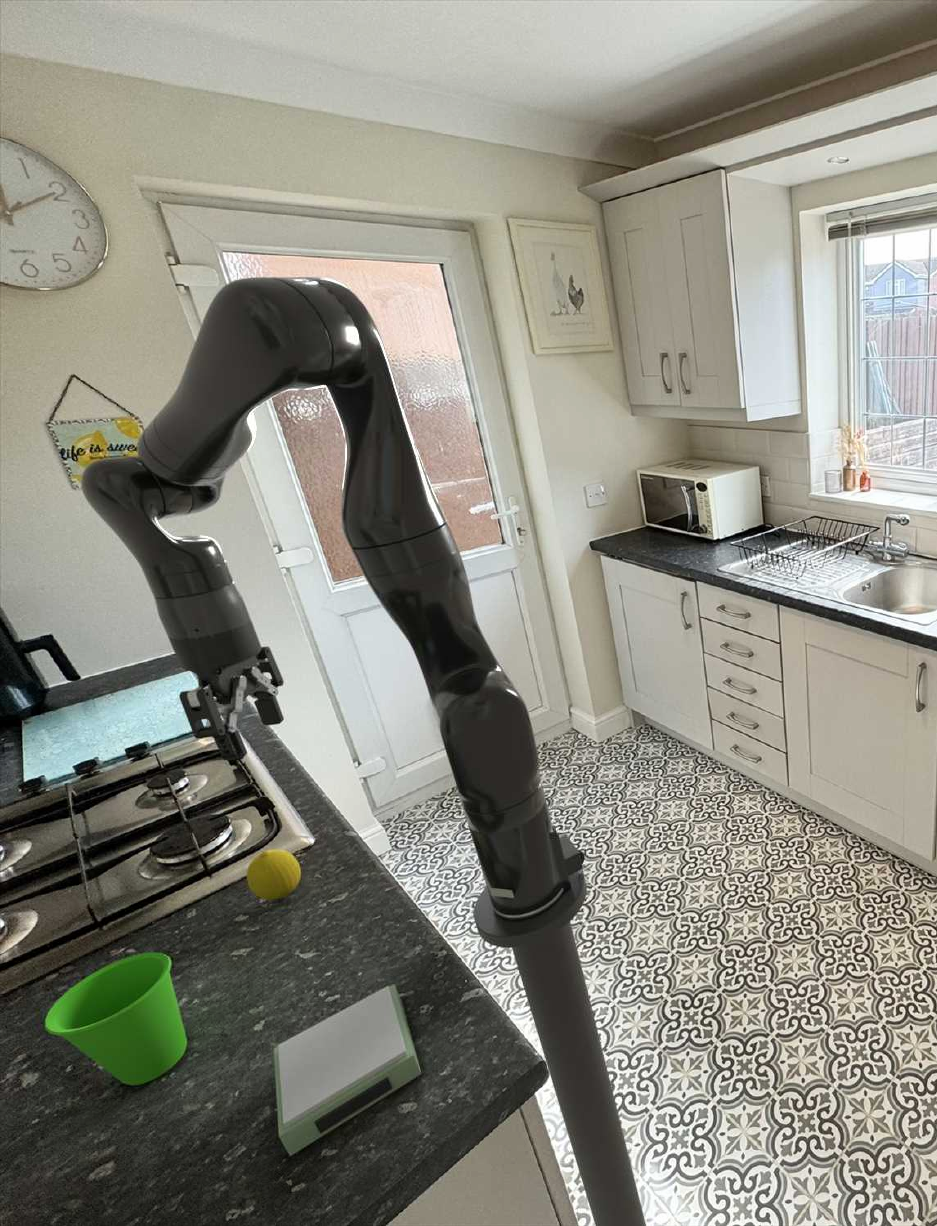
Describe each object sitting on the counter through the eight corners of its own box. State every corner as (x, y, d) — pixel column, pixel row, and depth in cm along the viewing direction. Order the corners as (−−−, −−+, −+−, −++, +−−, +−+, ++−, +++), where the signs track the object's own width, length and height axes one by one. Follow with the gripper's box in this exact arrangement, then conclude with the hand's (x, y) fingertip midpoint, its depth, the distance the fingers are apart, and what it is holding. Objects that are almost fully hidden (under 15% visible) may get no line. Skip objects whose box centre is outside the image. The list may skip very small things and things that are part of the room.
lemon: (270, 918, 87) (248, 872, 84) (252, 903, 89) (230, 858, 86) (316, 890, 91) (296, 845, 88) (297, 876, 94) (278, 833, 91)
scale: (401, 1001, 74) (392, 979, 73) (422, 1075, 66) (412, 1052, 65) (283, 1067, 68) (271, 1044, 66) (290, 1158, 60) (276, 1135, 58)
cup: (213, 1060, 69) (171, 988, 65) (92, 1127, 63) (37, 1053, 59) (209, 1005, 75) (170, 936, 71) (98, 1062, 69) (49, 991, 65)
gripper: (208, 643, 71) (258, 766, 77) (277, 601, 84) (315, 709, 89) (127, 651, 69) (185, 776, 75) (210, 607, 82) (254, 717, 88)
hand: (256, 739), depth 82 cm, fingers open, 8 cm apart
